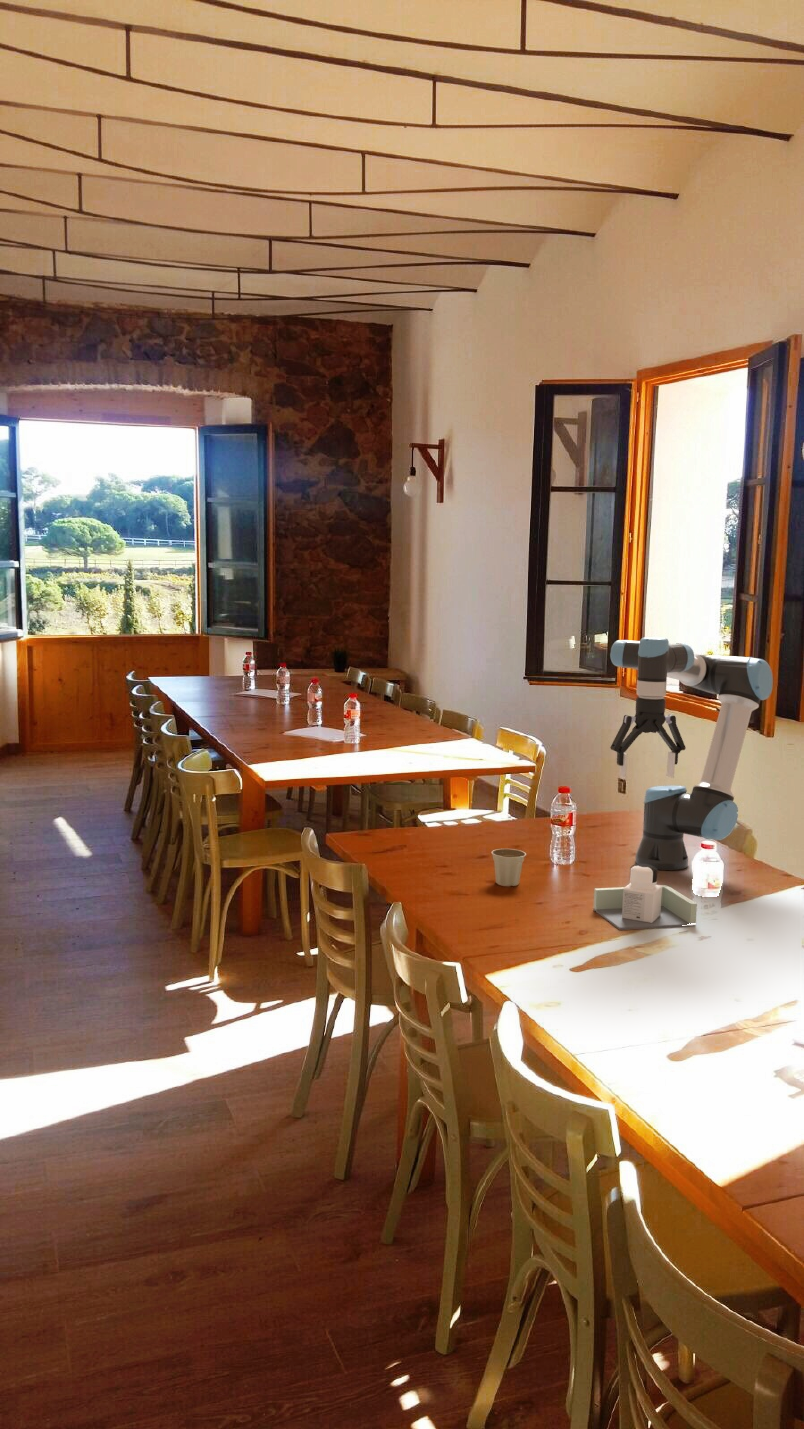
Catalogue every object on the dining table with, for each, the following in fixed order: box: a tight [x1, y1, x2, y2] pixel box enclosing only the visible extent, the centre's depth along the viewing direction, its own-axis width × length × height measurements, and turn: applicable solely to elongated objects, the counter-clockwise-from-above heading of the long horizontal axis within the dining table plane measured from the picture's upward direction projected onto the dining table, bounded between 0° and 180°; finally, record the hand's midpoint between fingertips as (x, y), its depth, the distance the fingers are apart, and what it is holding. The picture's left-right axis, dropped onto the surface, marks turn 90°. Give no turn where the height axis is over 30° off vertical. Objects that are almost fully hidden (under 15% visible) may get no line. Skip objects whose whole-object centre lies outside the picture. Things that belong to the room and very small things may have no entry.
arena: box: [592, 884, 698, 931], centre depth 284 cm, size 20×16×6 cm
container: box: [622, 863, 662, 923], centre depth 282 cm, size 8×8×13 cm
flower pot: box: [490, 848, 527, 887], centre depth 311 cm, size 9×9×9 cm
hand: (646, 777), depth 300 cm, fingers open, 13 cm apart
